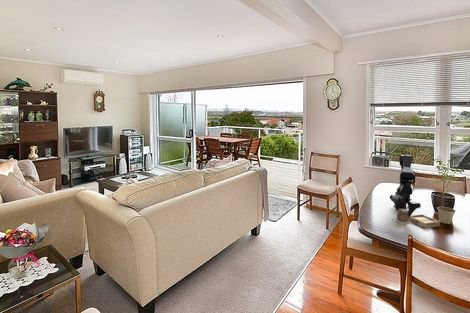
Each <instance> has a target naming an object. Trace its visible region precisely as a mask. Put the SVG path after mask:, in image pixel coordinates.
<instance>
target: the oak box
mask: <svg viewBox="0 0 470 313" xmlns="http://www.w3.org/2000/svg"><path fill="white" fill-rule="evenodd" d="M408 220H409V221H411V222H413V223H412V224H416V225H417V226H419V227H422V228H424V229H425V228H426V229H427V228H434V227H440V224H441V222H440V221H439V220H437V219H435V218H432V217H430V216H428V215H426V214H423V213H422V214H414V215H412V214H411V216H409V218H408Z"/></svg>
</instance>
